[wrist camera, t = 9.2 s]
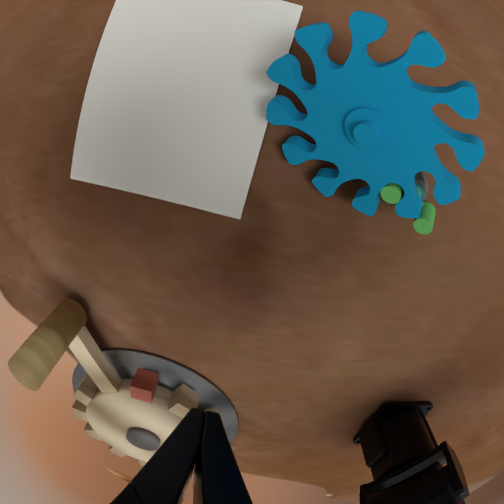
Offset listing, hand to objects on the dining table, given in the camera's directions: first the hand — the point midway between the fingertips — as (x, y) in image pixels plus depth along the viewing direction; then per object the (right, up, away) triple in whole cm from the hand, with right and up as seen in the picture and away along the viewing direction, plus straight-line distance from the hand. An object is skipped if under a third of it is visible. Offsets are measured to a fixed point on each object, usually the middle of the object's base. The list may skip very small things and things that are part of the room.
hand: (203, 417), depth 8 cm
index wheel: (-9, -9, +14) cm, 19 cm away
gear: (+7, +11, +7) cm, 15 cm away
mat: (-3, +14, +6) cm, 16 cm away
